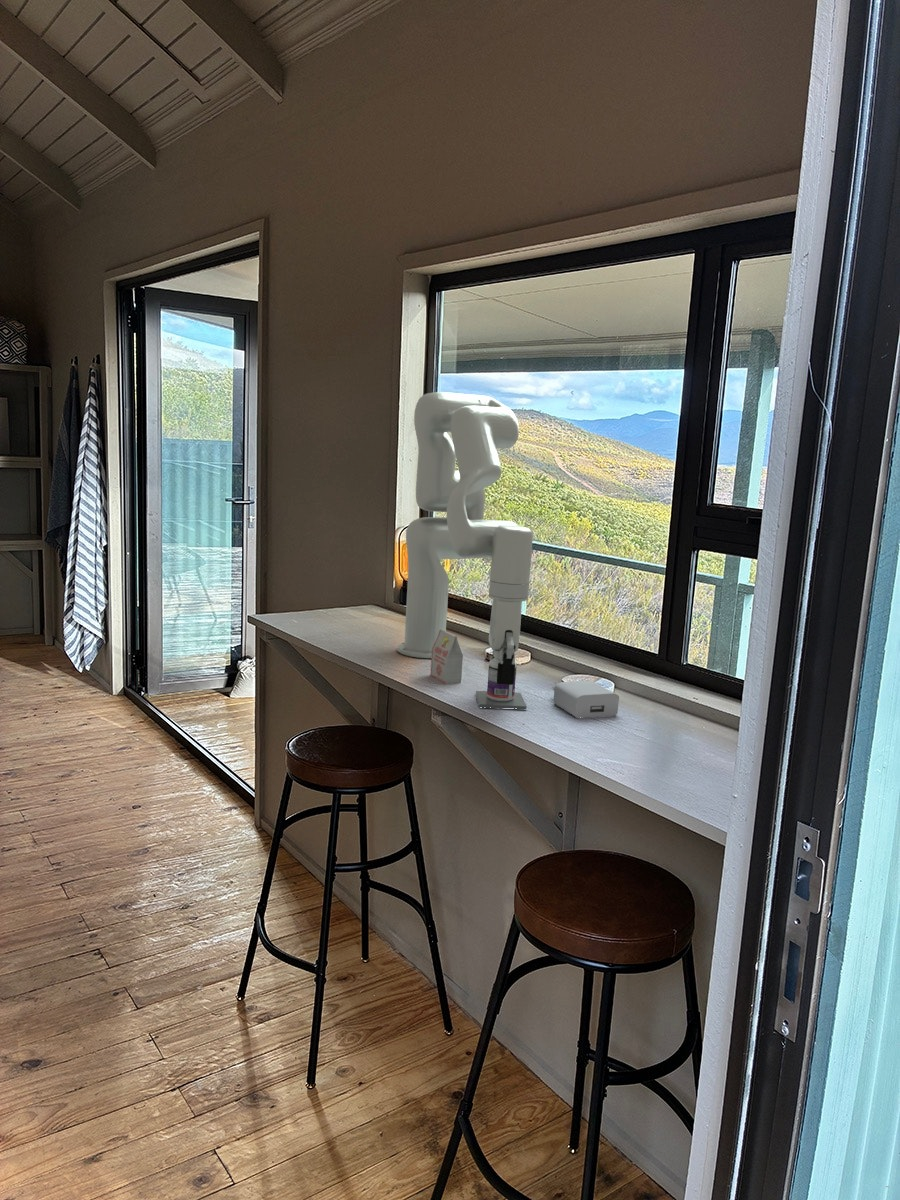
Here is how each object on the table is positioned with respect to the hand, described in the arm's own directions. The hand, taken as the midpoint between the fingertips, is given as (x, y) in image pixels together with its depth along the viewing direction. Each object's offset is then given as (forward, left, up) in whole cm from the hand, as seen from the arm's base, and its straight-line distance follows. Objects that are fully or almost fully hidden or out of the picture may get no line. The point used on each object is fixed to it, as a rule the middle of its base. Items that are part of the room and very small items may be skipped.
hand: (502, 677), depth 177 cm
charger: (0, +15, -6) cm, 16 cm away
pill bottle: (0, 0, -4) cm, 5 cm away
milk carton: (-15, -10, -5) cm, 19 cm away
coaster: (0, 0, -5) cm, 5 cm away
